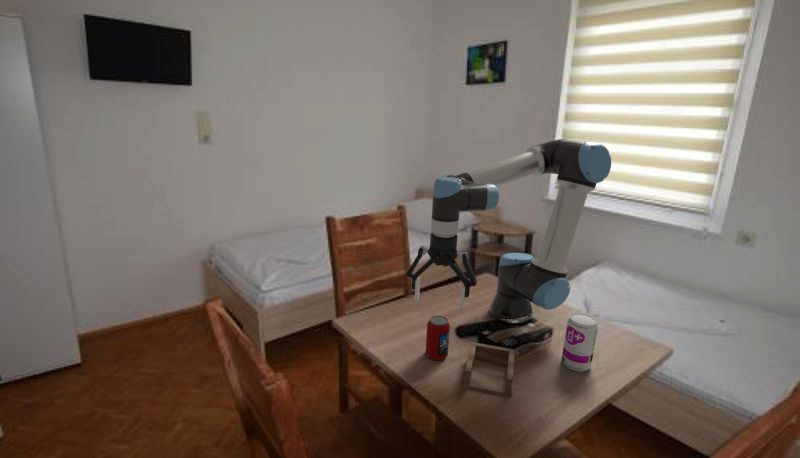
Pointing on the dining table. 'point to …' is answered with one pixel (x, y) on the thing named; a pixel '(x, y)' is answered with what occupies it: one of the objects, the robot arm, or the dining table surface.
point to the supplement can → (579, 342)
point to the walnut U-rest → (490, 369)
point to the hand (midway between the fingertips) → (439, 303)
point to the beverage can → (437, 337)
